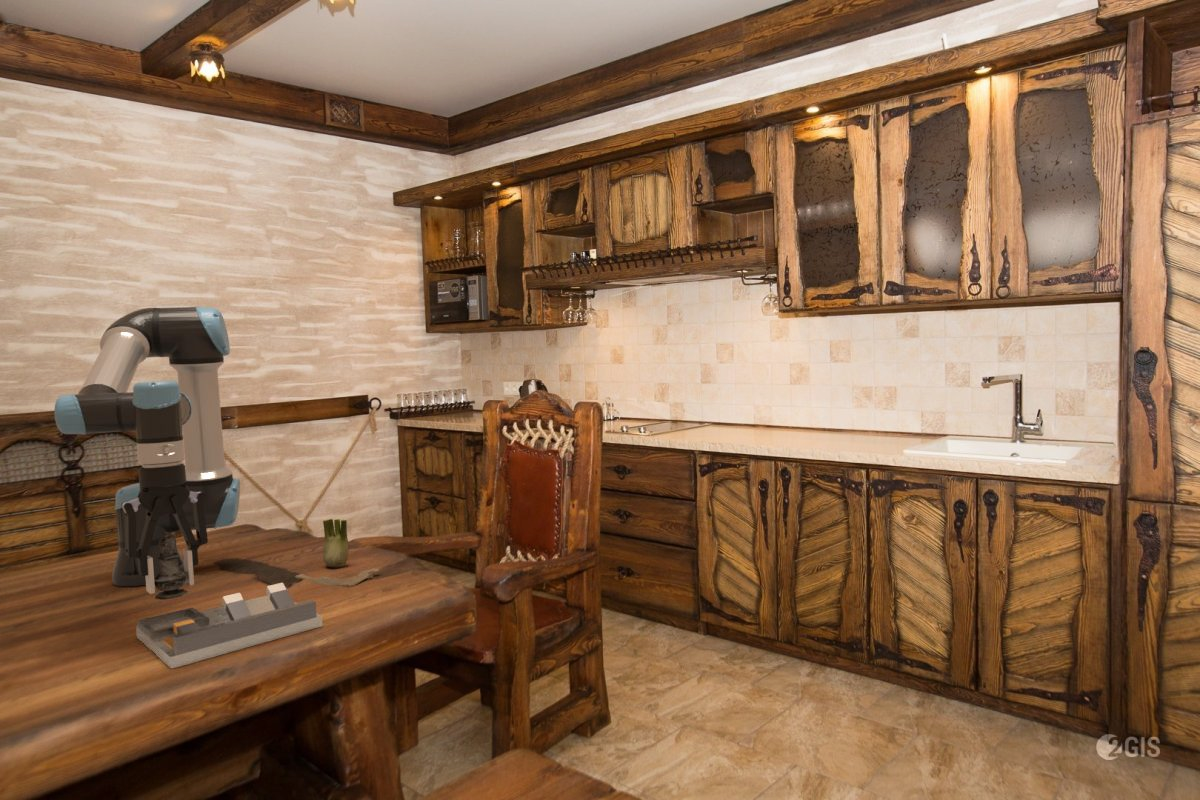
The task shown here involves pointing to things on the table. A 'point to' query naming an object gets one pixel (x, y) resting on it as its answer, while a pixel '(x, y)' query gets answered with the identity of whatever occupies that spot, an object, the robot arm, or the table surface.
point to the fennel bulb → (335, 543)
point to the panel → (223, 630)
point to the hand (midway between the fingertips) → (170, 587)
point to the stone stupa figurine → (169, 570)
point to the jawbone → (341, 582)
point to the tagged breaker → (185, 626)
